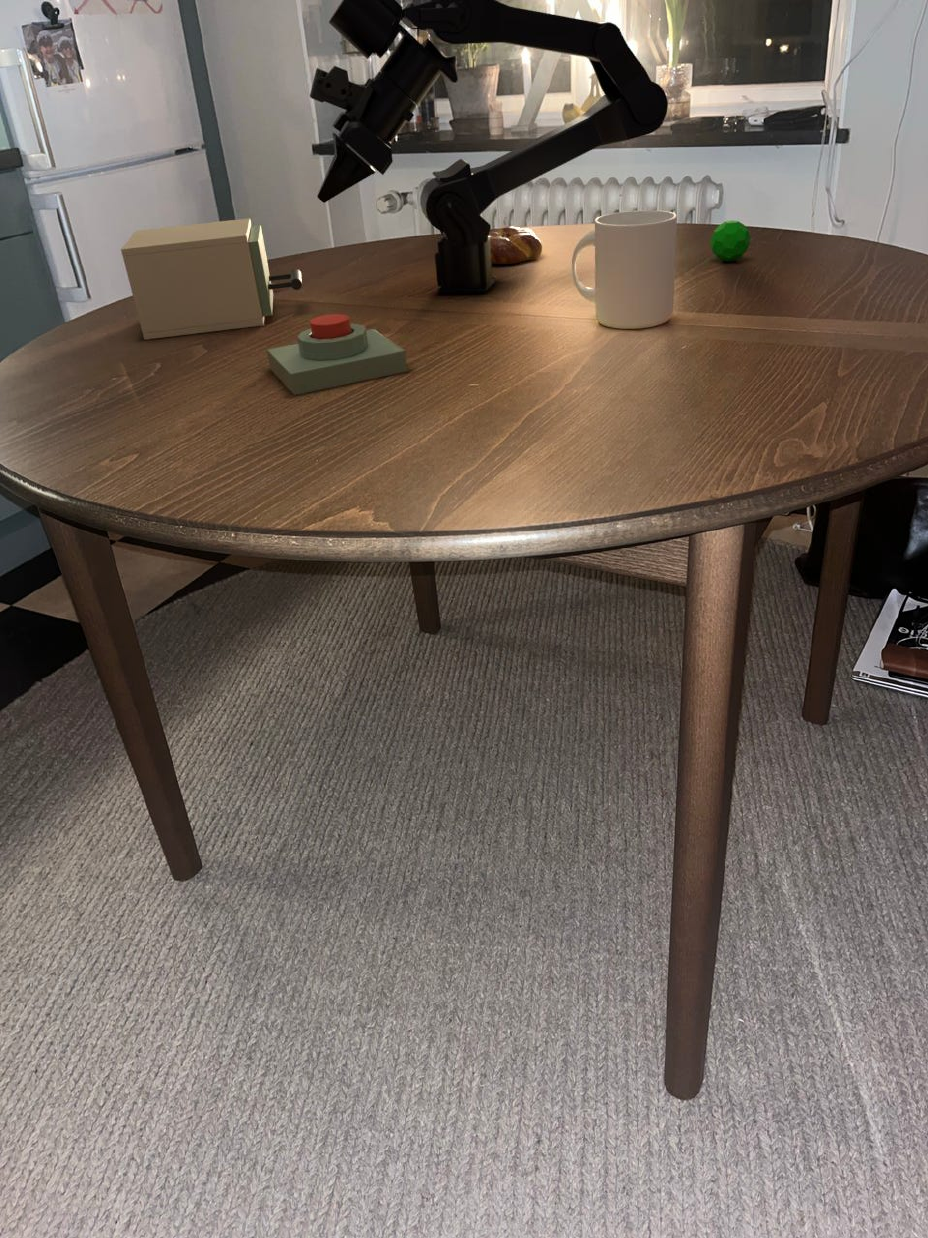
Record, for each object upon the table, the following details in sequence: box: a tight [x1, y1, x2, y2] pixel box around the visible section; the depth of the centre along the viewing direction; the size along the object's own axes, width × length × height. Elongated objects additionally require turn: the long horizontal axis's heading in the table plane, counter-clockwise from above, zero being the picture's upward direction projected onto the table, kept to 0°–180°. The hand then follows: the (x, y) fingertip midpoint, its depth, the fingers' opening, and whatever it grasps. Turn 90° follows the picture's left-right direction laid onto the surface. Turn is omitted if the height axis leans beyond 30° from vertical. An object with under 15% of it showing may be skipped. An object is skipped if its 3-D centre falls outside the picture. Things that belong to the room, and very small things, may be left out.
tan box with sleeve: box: [120, 217, 265, 341], centre depth 118 cm, size 15×13×11 cm
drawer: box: [248, 224, 303, 318], centre depth 119 cm, size 18×11×9 cm, turn 99°
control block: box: [266, 322, 408, 396], centre depth 97 cm, size 12×10×4 cm
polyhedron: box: [710, 220, 751, 262], centre depth 125 cm, size 5×5×5 cm
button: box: [309, 313, 352, 339], centre depth 96 cm, size 4×4×2 cm
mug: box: [571, 209, 678, 330], centre depth 104 cm, size 9×12×11 cm
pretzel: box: [489, 225, 543, 265], centre depth 137 cm, size 12×11×4 cm
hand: (320, 199), depth 116 cm, fingers closed
